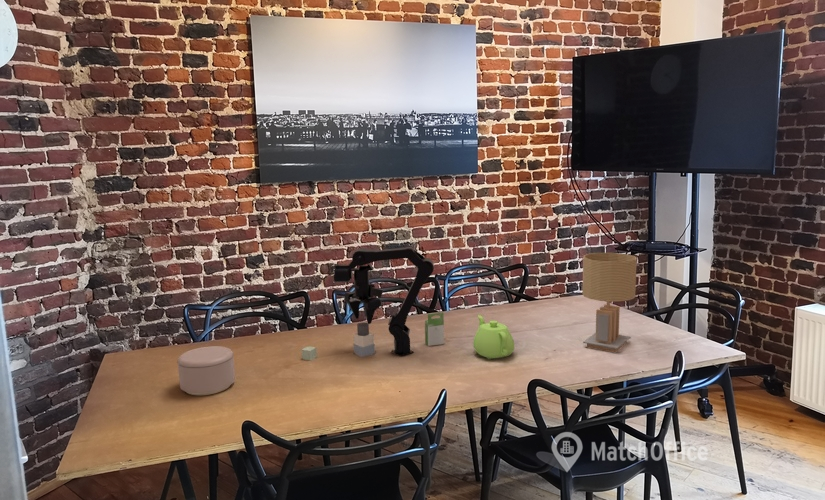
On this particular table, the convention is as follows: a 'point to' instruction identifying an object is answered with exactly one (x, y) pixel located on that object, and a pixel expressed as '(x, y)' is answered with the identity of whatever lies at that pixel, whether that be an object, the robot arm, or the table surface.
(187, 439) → the table surface
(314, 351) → the sage block
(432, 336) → the ink box
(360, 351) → the tower base
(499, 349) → the teapot
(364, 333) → the dark grey cylinder
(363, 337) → the tower top
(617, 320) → the desk lamp
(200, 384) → the container
